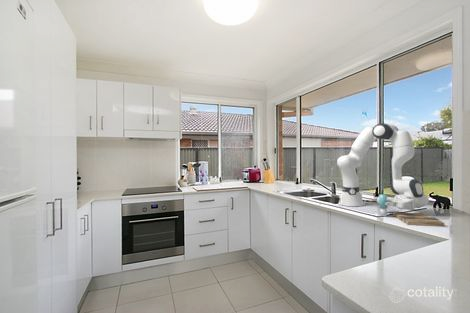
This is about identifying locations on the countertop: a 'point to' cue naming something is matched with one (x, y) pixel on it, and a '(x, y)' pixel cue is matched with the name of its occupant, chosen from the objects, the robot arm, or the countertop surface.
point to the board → (418, 219)
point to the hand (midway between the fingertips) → (381, 202)
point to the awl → (383, 204)
